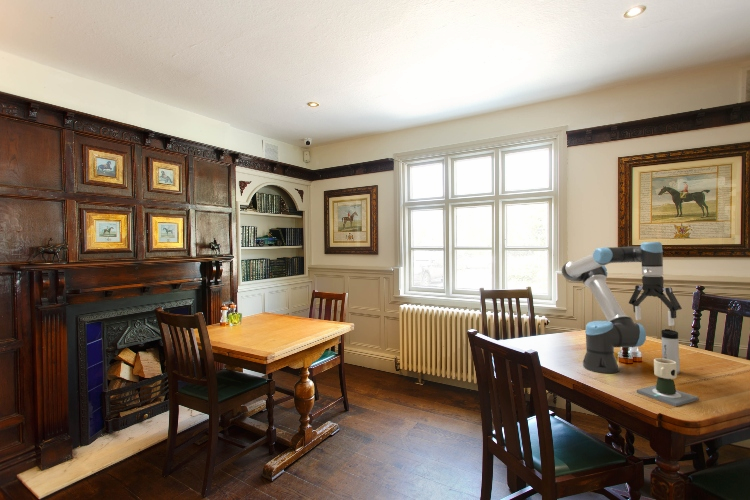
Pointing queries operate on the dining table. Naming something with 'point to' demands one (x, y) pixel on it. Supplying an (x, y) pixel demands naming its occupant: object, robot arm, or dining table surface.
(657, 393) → the charging pad
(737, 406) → the dining table surface
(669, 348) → the travel mug
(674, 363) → the character mug
